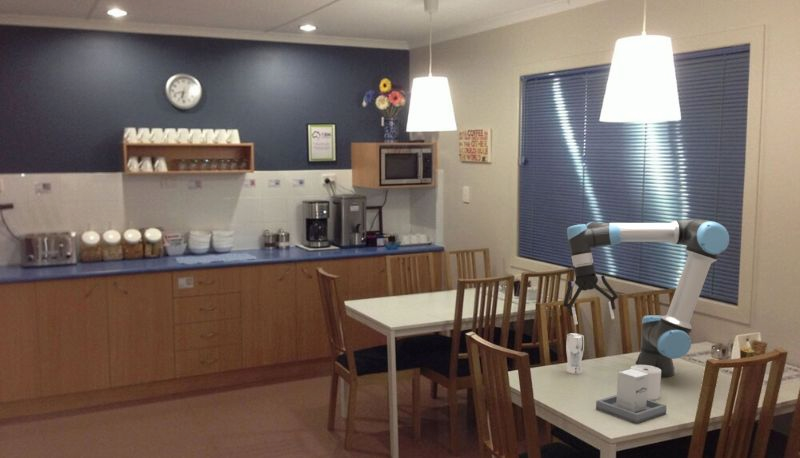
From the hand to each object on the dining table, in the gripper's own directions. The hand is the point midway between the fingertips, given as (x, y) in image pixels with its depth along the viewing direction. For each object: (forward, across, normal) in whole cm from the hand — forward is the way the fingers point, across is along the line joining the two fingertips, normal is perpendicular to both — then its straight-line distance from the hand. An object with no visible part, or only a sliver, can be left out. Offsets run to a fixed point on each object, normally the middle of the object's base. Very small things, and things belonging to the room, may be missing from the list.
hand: (594, 321), depth 272 cm
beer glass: (+20, +14, -20) cm, 32 cm away
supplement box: (+30, -9, +17) cm, 36 cm away
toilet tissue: (+29, -12, -2) cm, 32 cm away
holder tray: (+31, -8, +17) cm, 36 cm away
